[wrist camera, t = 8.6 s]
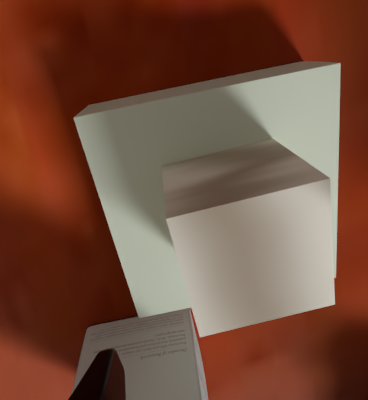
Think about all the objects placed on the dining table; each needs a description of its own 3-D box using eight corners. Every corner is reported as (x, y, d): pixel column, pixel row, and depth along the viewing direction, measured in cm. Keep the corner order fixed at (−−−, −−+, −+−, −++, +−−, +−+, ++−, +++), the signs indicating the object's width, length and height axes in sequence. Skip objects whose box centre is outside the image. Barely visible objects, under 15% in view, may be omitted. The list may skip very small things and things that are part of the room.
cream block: (272, 138, 14) (330, 178, 10) (283, 234, 16) (334, 304, 12) (161, 166, 14) (165, 218, 10) (186, 258, 16) (200, 337, 12)
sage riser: (299, 60, 17) (340, 62, 13) (304, 239, 21) (335, 277, 18) (90, 103, 17) (73, 117, 13) (141, 273, 21) (138, 318, 18)
